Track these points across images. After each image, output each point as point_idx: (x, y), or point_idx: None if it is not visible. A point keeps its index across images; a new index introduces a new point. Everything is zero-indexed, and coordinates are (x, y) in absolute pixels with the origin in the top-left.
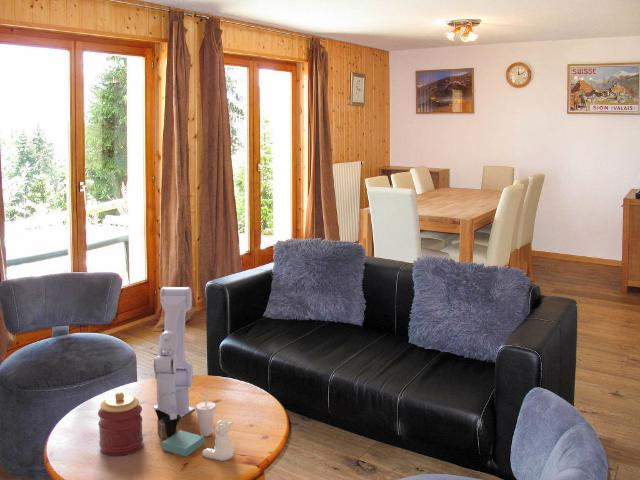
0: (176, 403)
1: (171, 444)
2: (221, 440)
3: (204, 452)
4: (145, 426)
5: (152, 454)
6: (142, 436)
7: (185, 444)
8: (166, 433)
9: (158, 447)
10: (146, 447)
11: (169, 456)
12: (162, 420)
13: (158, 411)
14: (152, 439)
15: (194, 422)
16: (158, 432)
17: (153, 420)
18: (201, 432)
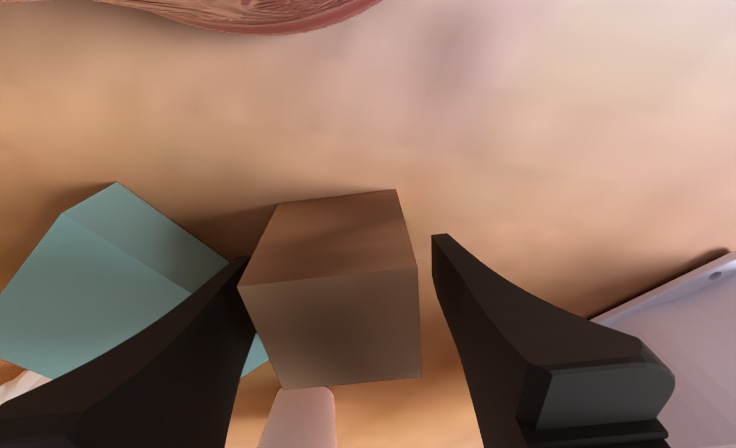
0: (661, 413)
1: (24, 273)
2: None
3: (5, 392)
4: (596, 117)
5: (23, 89)
6: (180, 16)
7: (39, 348)
8: (233, 270)
9: (163, 160)
10: (170, 55)
11: (9, 212)
12: (381, 308)
13: (497, 358)
14: (321, 136)
15: (452, 378)
16: (373, 204)
17: (648, 195)
18: (282, 402)
